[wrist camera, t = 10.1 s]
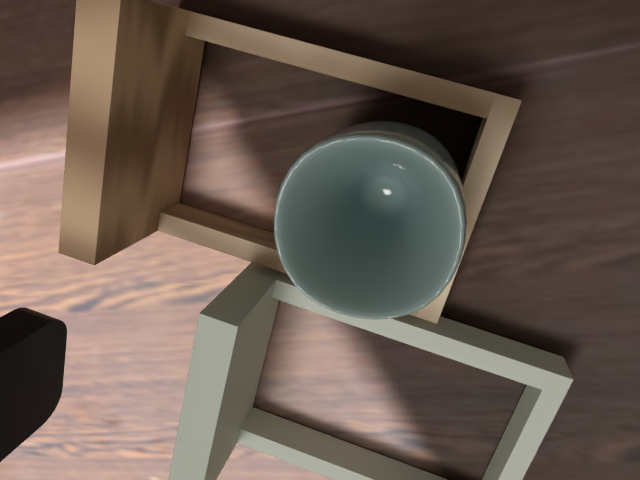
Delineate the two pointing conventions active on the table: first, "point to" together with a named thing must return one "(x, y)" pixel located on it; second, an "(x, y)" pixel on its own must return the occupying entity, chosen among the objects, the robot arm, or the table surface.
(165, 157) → the wooden drawer
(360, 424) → the table surface
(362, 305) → the cup
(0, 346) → the robot arm
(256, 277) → the frame
